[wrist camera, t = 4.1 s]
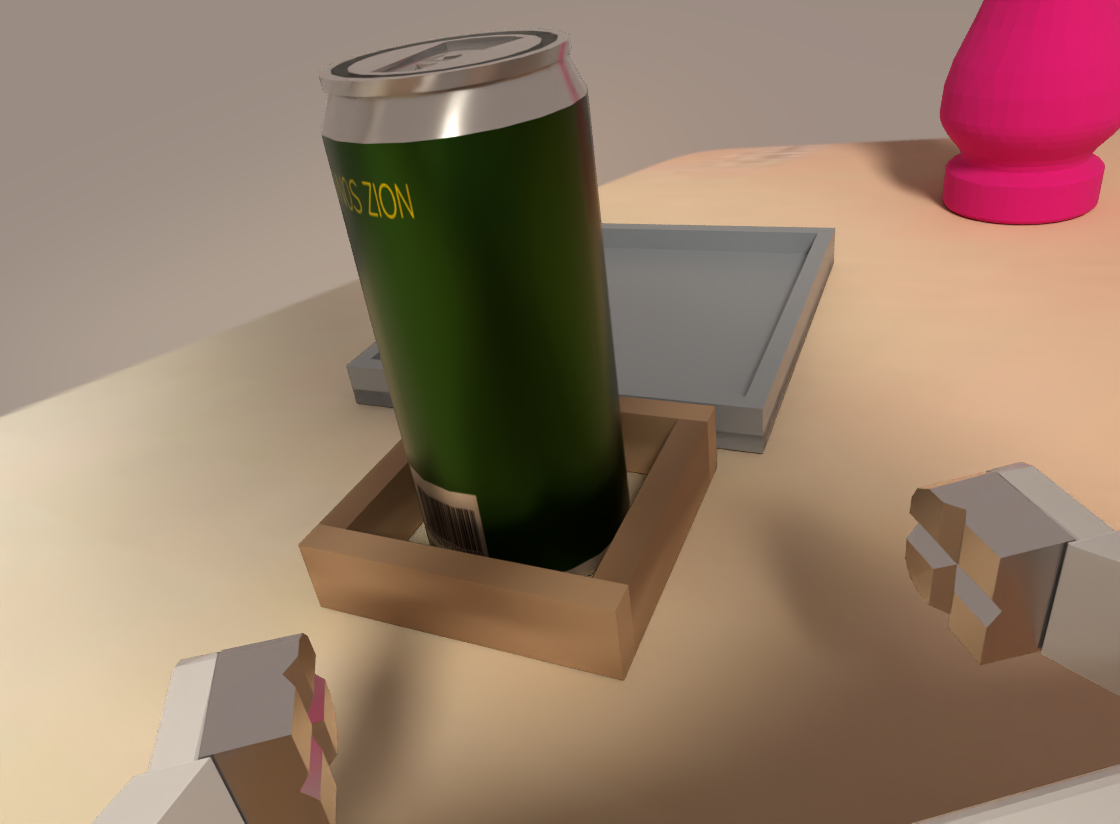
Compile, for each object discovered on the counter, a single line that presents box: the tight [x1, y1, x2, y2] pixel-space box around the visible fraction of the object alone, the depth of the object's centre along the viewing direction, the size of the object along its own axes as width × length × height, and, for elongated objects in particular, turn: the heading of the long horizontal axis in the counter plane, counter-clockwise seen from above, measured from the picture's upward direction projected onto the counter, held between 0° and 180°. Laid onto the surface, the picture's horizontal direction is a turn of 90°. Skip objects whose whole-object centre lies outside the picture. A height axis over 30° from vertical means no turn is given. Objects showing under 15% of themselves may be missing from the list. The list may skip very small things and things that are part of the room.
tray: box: [346, 223, 835, 454], centre depth 32 cm, size 14×14×2 cm
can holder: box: [299, 396, 717, 680], centre depth 22 cm, size 8×8×2 cm
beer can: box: [319, 28, 630, 576], centre depth 20 cm, size 5×5×12 cm
